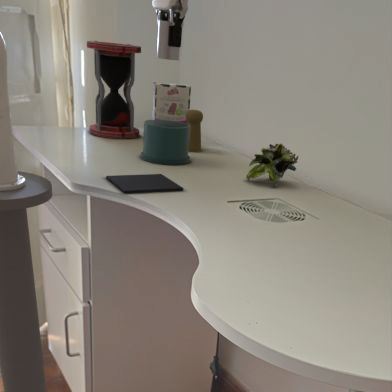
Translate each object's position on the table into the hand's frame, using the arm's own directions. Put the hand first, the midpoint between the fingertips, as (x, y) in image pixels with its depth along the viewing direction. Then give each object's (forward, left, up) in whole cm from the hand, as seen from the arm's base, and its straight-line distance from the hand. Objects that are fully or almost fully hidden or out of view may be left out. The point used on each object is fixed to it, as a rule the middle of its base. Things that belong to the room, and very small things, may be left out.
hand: (168, 45), depth 113 cm
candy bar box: (+14, +26, -27) cm, 40 cm away
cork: (+16, +14, -27) cm, 34 cm away
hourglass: (0, +37, -27) cm, 46 cm away
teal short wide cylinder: (+2, +3, -27) cm, 27 cm away
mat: (-14, -20, -27) cm, 36 cm away
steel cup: (0, 0, -3) cm, 3 cm away
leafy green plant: (+19, -24, -27) cm, 41 cm away
